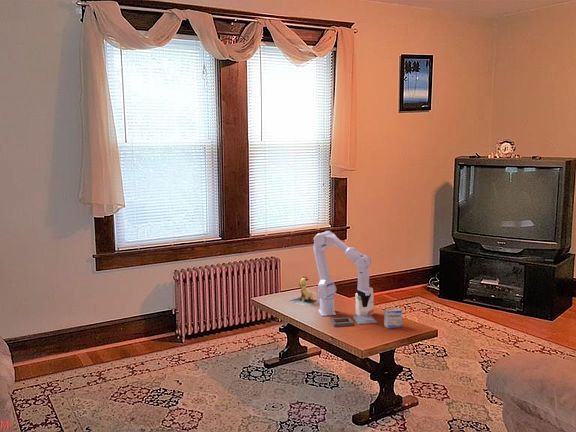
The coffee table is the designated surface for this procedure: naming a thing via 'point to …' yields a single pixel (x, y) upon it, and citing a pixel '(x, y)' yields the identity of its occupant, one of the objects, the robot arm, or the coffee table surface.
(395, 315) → the medicine box
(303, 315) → the coffee table surface
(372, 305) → the ink cartridge box
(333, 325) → the holder
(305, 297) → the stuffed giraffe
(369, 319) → the slate board
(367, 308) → the plug
